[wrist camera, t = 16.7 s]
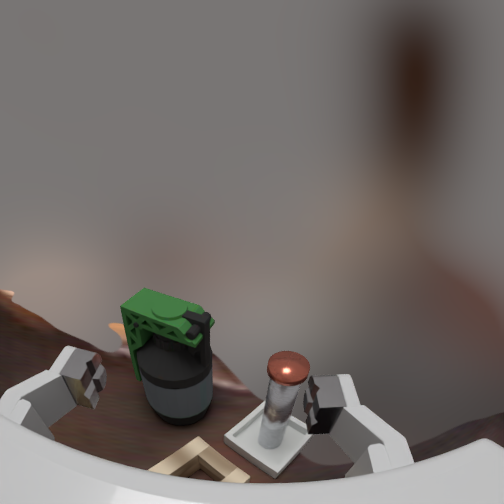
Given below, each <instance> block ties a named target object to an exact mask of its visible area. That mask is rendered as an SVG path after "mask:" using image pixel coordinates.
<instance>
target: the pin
mask: <svg viewBox="0 0 504 504" xmlns="http://www.w3.org/2000/svg"><path fill="white" fill-rule="evenodd" d="M309 370H310V364H309V362H308V360H307V359H306V358H305V357H304V356H302V355H300V354H298V353H296V352H291V351H282V352H278V353H275V354H274V355H272V356H271V357H270V359H269V361H268V366H267V373H268V376H269V377H270V380H269V386H268V391H267V396H266V401H265V406H264V411H263V416H262V421H261V426H260V431H259V435H258V443H259V444H260V445H261V446H262V447H263V448H265V449H275V448H278V447H279V446H280V445H281V443H282V440H283V437H284V434H285V431H286V428H287V426H288V423H289V420H290V417H291V413H292V410H293V407H294V404H295V401H296V398H297V395H298V391H299V388H300V384H301V383H303V382H304V381H305V380H306V379H307V376H308V373H309Z"/></svg>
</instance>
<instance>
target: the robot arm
mask: <svg viewBox="0 0 504 504" xmlns="http://www.w3.org/2000/svg"><path fill="white" fill-rule="evenodd" d="M101 361H102V359H101V357H100V354H97V353H94V352H90V351H86V350H82V349H79V348H75V347H71V346H66V347H65V348H64V349H63V351H62V352H61V354H60V355H59V356H58V358H57V359H56V361H55V362H54V364H53V365H52V367H51V368H50V370H49V371H48V370H45V371H43V372H41V373H39V374H37V375H35V376H33V377H31V378H30V379H28V380H26V381H24V382H22V383H20V384H18V385H16V386H14V387H12V388H10V389H8V390H6V392H5V393H4V395H3V396H2V398H1V399H0V504H504V448H503V447H501V446H499V445H498V444H496V443H494V442H493V441H490V440H488V439H480V440H477V441H475V442H472V443H470V444H468V445H465V446H463V447H460V448H458V449H455V450H453V451H450V452H447V453H444V454H442V455H439V456H436V457H433V458H430V459H426V460H423V461H420V462H416V463H414V461H413V458H412V455H411V452H410V450H409V447H408V444H407V441H406V439H405V437H404V436H402V435H401V434H400V433H398V432H397V431H396V430H395V429H393V428H392V427H391V426H389V425H388V424H387V423H385V422H384V421H383V420H382V419H381V418H379V417H378V416H377V415H375V414H374V413H373V412H372V411H371V410H369V409H368V408H367V407H365V406H364V405H362V406H361V405H360V402H359V399H358V396H357V393H356V390H355V387H354V384H353V381H352V379H351V376H350V375H349V374H343V375H312V376H311V377H310V378H309V381H308V384H309V387H308V388H307V389H306V390H305V394H304V401H303V402H304V412H305V413H306V414H307V415H308V417H307V419H306V426H307V432H308V434H329V435H330V436H331V437H332V439H333V440H334V441H335V442H336V443H337V444H338V445H339V446H340V448H341V449H342V450H343V451H344V452H345V453H346V454H347V455H348V456H349V458H350V459H351V460H352V461H353V462H354V463H355V464H354V465H353V466H352V468H351V469H350V470H349V471H348V472H347V473H346V475H345V477H346V478H341V479H333V480H325V481H314V482H301V483H274V484H259V483H232V482H219V481H208V480H199V479H192V478H185V477H178V476H172V475H166V474H161V473H156V472H151V471H147V470H142V469H138V468H134V467H130V466H126V465H122V464H119V463H115V462H112V461H108V460H105V459H102V458H99V457H96V456H93V455H90V454H87V453H84V452H81V451H78V450H76V449H73V448H70V447H68V446H65V445H63V444H60V443H58V442H56V441H54V439H55V438H54V435H53V434H52V433H51V431H50V430H49V429H48V427H49V426H51V425H52V424H53V423H55V422H56V421H57V420H59V419H60V418H61V417H62V416H64V415H65V414H66V413H68V412H69V411H70V410H72V409H73V408H74V407H76V406H77V405H80V406H84V407H87V408H91V409H94V408H95V406H96V404H97V402H98V400H99V394H98V392H100V391H102V390H103V389H104V386H105V384H106V371H105V368H104V367H103V366H102V365H101V364H100V363H101ZM76 404H77V405H76Z"/></svg>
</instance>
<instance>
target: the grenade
mask: <svg viewBox="0 0 504 504" xmlns="http://www.w3.org/2000/svg"><path fill="white" fill-rule="evenodd" d="M120 307H121V313H122V317H123V323H124V328H125V333H126V337H127V342H128V346H129V351H130V355H131V359H132V363H133V367H134V371H135V375H136V378H137V380H139V381H141V380H142V382H143V385H144V389H145V393H146V396H147V399H148V401H149V403H150V405H151V406H152V408H153V409H154V410H155V411H156V413H157V414H158V415H159V416H160V417H161V418H162V419H163V420H165V421H166V422H168V423H171V424H174V425H182V426H183V425H190V424H193V423H195V422H197V421H199V420H200V419H201V418H202V417H203V416H204V415H205V413H206V411H207V409H208V407H209V404H210V402H211V399H212V393H213V385H212V350H211V347H210V328H211V327H212V326H213V324H214V323H215V320H214V319H213V318H211V315H210V314H209V313H208V312H205V311H204V310H203V308H202V307H201V306H199V305H197V304H194V303H190V302H187V301H184V300H181V299H178V298H174V297H171V296H168V295H165V294H162V293H159V292H156V291H153V290H150V289H146V288H143V289H142V290H141V291H139V292H138V293H137V294H135V295H134V296H133V297H131V298H130V299H129V300H127V301H126V302H125V303H124V304H122V305H121V306H120Z"/></svg>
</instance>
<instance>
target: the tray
mask: <svg viewBox="0 0 504 504" xmlns="http://www.w3.org/2000/svg"><path fill="white" fill-rule="evenodd" d="M265 401H266V400H265ZM265 401H264V402H263V403H262V404H261V405H259V406H258V407H257V408H256V409H255V410H254V411H253V412H251V413H250V414H249V415H248V416H247V417H246V418H244V419H243V420H242V421H241V422H240V423H238V424H237V425H236V426H235V427H233V428H232V429H231V430H230V431H229V432H227V433H226V434H225V435H224V443H225V444H226V445H228V446H229V447H230V448H231V449H233V450H234V451H235V452H237V453H238V454H240V455H241V456H242V457H244V458H245V459H246V460H248V461H249V462H251V463H252V464H254V465H255V466H256V467H258V468H259V469H261V470H262V471H264V472H265V473H267V474H268V475H270V476H271V477H273V478H276V477H277V476H278V475H279V474H280V473H281V472H282V471H283V470H284V469H285V468H286V467H287V466H288V465H289V464H290V463H291V461H292V460H293V459H294V458H295V457H296V456H297V455H298V454H299V453H300V451H301V450H302V449H303V448H304V447H305V446H306V445H307V443H308V442H309V441H310V440H311V439H312V437H313V435H314V434H308V432H307V426H306V424H305V423H303V422H301V421H300V420H298V419H296V418H295V417H293V416H291V417H290V420H289V423H288V426H287V428H286V431H285V434H284V437H283V440H282V443H281V445H280V446H279V447H278V448H275V449H265V448H263V447H262V446H261V445H260V444H259V443H258V435H259V431H260V426H261V421H262V416H263V411H264V406H265Z"/></svg>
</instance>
